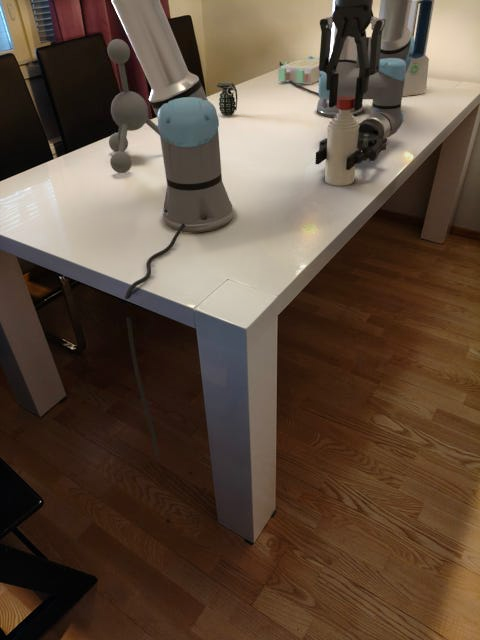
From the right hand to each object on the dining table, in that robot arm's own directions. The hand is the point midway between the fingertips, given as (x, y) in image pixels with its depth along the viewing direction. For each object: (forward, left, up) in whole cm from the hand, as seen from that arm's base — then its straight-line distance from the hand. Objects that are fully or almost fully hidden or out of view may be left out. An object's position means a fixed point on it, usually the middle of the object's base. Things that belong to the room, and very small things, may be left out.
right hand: (332, 161), depth 113 cm
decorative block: (-115, -12, -6) cm, 116 cm away
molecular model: (-18, -52, -6) cm, 55 cm away
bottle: (-4, +2, -6) cm, 8 cm away
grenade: (-60, -36, -6) cm, 71 cm away
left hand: (-4, +2, +11) cm, 12 cm away
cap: (-4, +2, +12) cm, 13 cm away
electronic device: (-88, +26, -6) cm, 92 cm away
